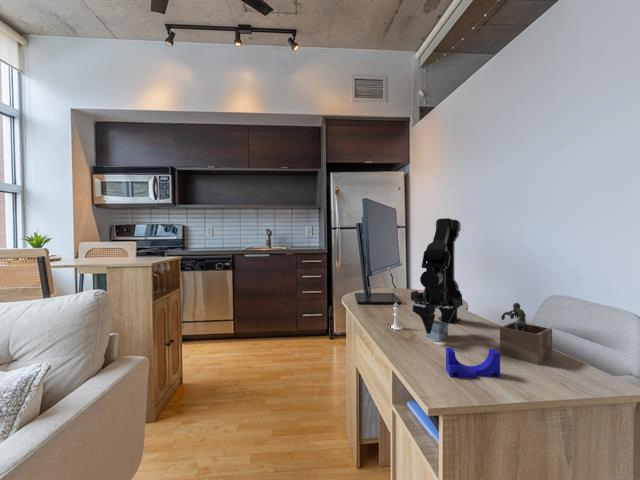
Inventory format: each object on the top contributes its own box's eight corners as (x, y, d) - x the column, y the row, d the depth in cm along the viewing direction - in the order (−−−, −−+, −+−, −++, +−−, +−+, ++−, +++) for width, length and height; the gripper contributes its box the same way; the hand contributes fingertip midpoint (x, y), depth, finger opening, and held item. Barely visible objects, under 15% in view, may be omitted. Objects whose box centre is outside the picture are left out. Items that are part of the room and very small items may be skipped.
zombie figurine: (516, 355, 100) (513, 305, 105) (533, 355, 93) (529, 302, 98) (500, 352, 99) (498, 302, 104) (516, 352, 93) (513, 299, 98)
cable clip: (450, 378, 81) (450, 353, 81) (445, 370, 85) (445, 347, 85) (502, 380, 79) (502, 355, 79) (495, 373, 84) (495, 349, 84)
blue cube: (434, 334, 115) (434, 320, 115) (447, 337, 111) (447, 323, 111) (426, 337, 112) (426, 322, 112) (439, 340, 108) (439, 325, 108)
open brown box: (515, 347, 102) (515, 321, 102) (552, 356, 94) (552, 328, 94) (500, 354, 96) (499, 327, 96) (538, 365, 88) (538, 335, 88)
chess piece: (387, 327, 125) (387, 301, 125) (400, 327, 126) (400, 301, 126) (391, 331, 120) (391, 304, 120) (404, 331, 121) (404, 303, 121)
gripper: (432, 280, 123) (432, 321, 123) (399, 284, 112) (399, 330, 112) (460, 283, 114) (460, 328, 115) (427, 288, 103) (427, 338, 103)
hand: (436, 331), depth 111 cm, fingers open, 9 cm apart
